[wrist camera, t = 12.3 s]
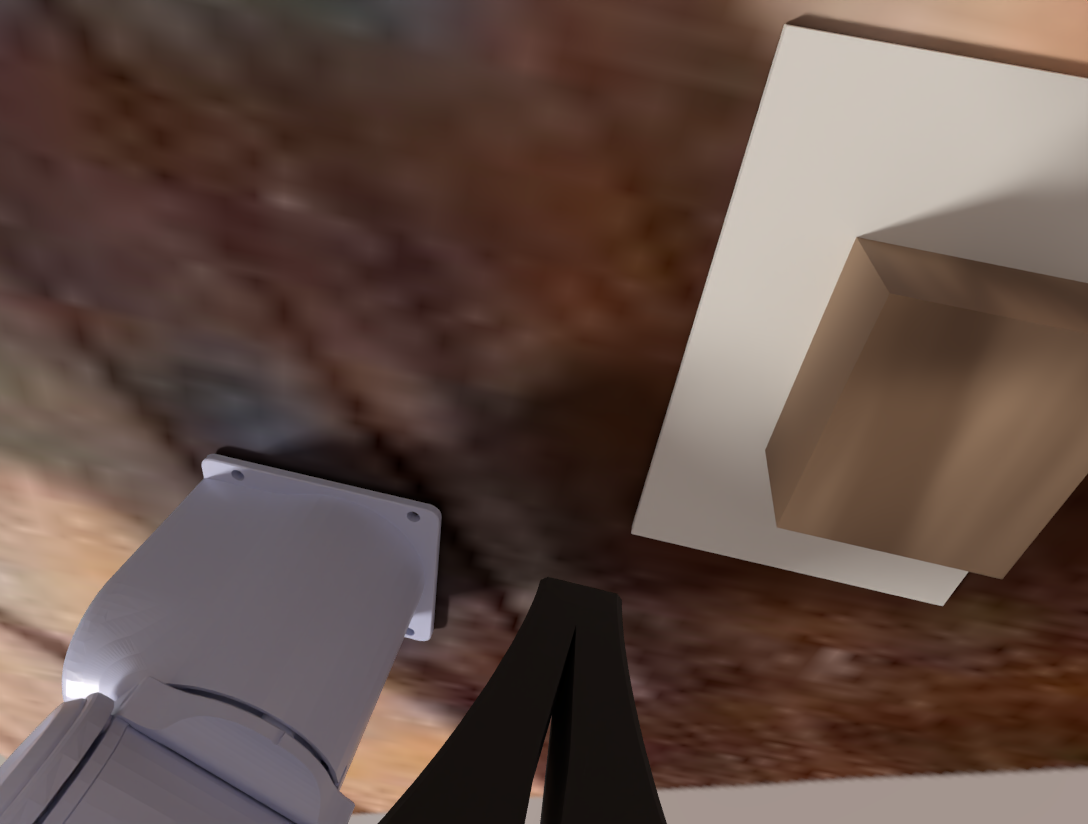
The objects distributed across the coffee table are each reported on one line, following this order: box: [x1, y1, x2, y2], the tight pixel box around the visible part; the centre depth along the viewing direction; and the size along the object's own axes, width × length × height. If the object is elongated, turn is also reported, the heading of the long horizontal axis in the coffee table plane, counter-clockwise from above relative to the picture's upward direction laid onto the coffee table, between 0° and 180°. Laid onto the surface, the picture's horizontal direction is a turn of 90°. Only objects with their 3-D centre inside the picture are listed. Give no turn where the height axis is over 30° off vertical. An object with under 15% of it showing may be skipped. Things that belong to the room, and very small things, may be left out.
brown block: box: [765, 237, 1088, 579], centre depth 17 cm, size 4×7×6 cm
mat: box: [631, 24, 1088, 606], centre depth 19 cm, size 11×16×1 cm
